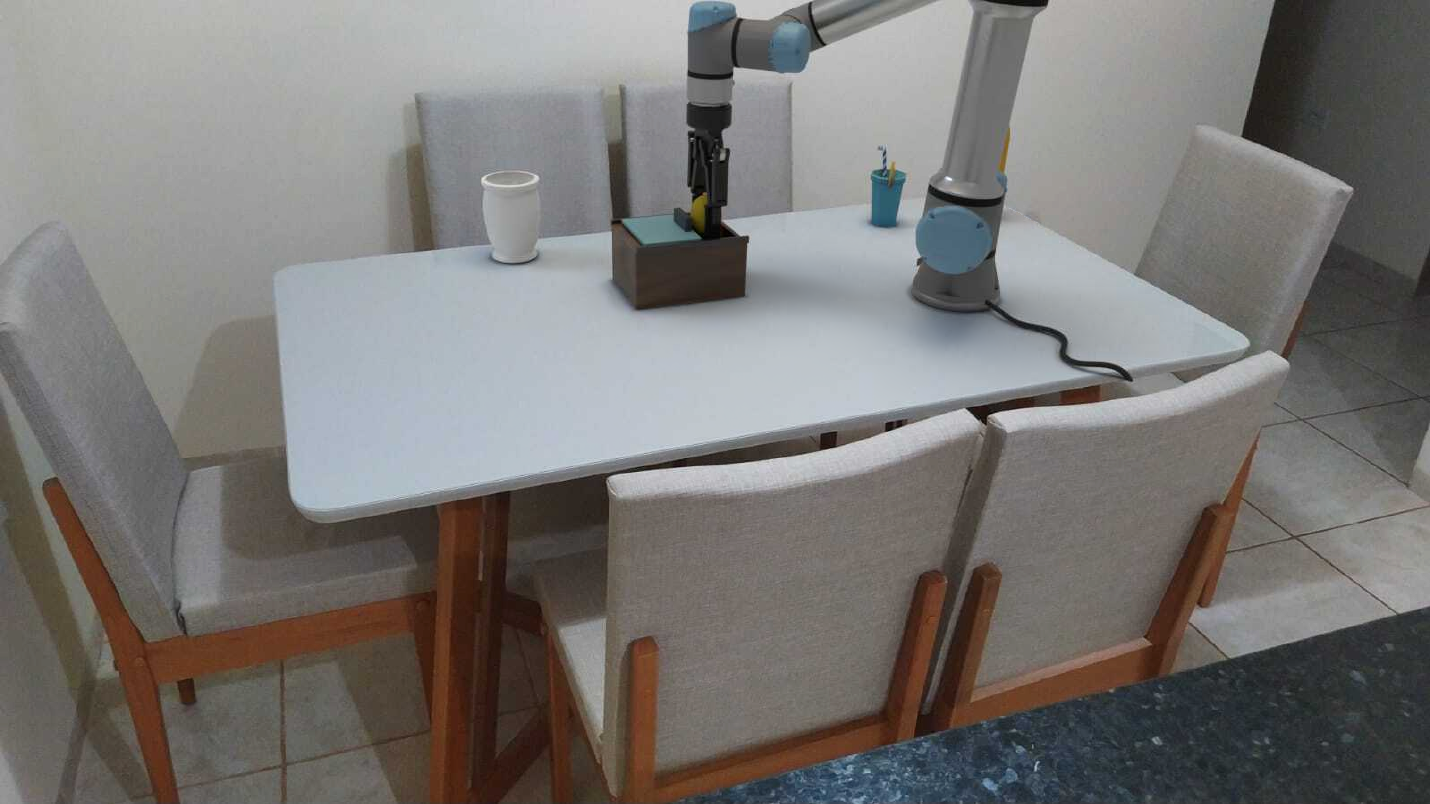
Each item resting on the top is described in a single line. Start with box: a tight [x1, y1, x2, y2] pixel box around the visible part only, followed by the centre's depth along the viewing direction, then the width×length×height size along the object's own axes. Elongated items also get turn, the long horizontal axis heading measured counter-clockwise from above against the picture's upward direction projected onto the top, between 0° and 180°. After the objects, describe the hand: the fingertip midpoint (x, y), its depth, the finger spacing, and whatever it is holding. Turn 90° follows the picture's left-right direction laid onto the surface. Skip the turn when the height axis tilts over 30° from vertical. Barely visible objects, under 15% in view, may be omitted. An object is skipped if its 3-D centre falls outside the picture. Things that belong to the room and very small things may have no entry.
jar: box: [480, 170, 542, 264], centre depth 194 cm, size 11×10×15 cm
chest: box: [610, 211, 750, 310], centre depth 183 cm, size 15×20×11 cm
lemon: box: [689, 193, 723, 238], centre depth 182 cm, size 6×6×8 cm
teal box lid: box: [621, 207, 702, 246], centre depth 179 cm, size 13×10×3 cm
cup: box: [870, 145, 908, 228], centre depth 219 cm, size 14×8×15 cm, turn 10°
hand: (705, 236), depth 183 cm, fingers closed on lemon, 5 cm apart
